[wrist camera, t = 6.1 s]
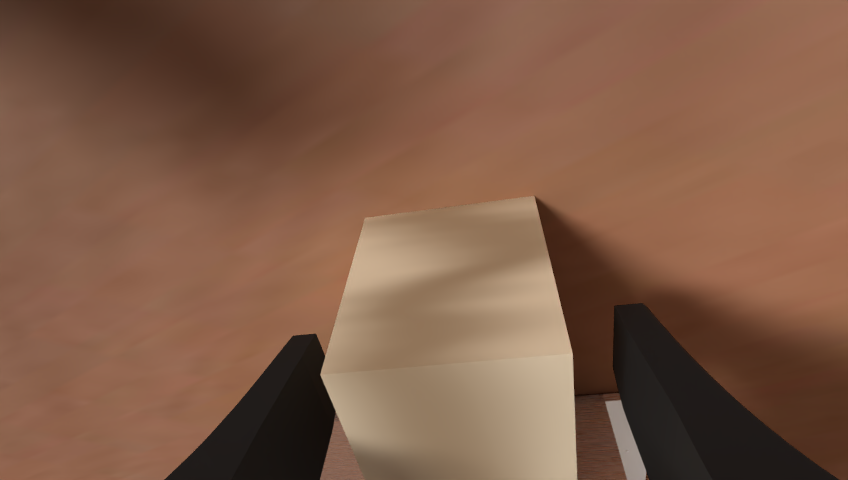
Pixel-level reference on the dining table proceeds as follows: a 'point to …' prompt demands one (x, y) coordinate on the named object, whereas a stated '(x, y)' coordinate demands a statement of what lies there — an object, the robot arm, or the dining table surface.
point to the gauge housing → (595, 444)
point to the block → (454, 349)
